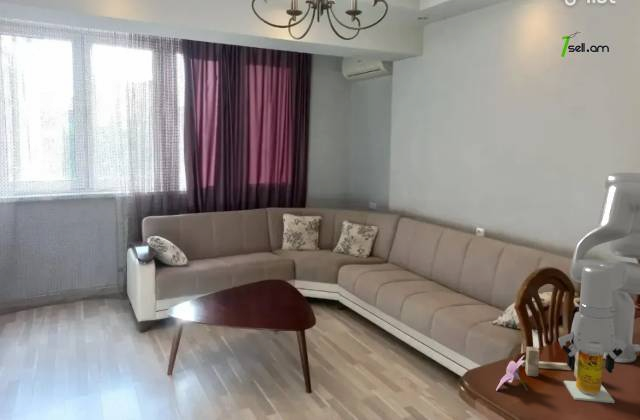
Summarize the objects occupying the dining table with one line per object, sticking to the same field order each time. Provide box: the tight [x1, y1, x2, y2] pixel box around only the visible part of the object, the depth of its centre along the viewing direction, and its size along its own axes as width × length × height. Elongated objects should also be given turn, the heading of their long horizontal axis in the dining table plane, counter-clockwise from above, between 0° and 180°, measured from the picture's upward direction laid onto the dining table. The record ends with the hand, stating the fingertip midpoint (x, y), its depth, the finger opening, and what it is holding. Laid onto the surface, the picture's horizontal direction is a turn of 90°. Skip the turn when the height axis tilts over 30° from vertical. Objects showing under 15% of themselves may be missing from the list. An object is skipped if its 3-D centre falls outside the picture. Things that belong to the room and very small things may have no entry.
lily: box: [495, 355, 528, 391], centre depth 143 cm, size 12×12×10 cm
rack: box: [521, 346, 579, 380], centre depth 153 cm, size 17×8×8 cm, turn 80°
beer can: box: [576, 342, 604, 395], centre depth 140 cm, size 6×6×15 cm
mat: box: [563, 380, 615, 404], centre depth 141 cm, size 10×10×1 cm
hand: (589, 369), depth 140 cm, fingers open, 9 cm apart
